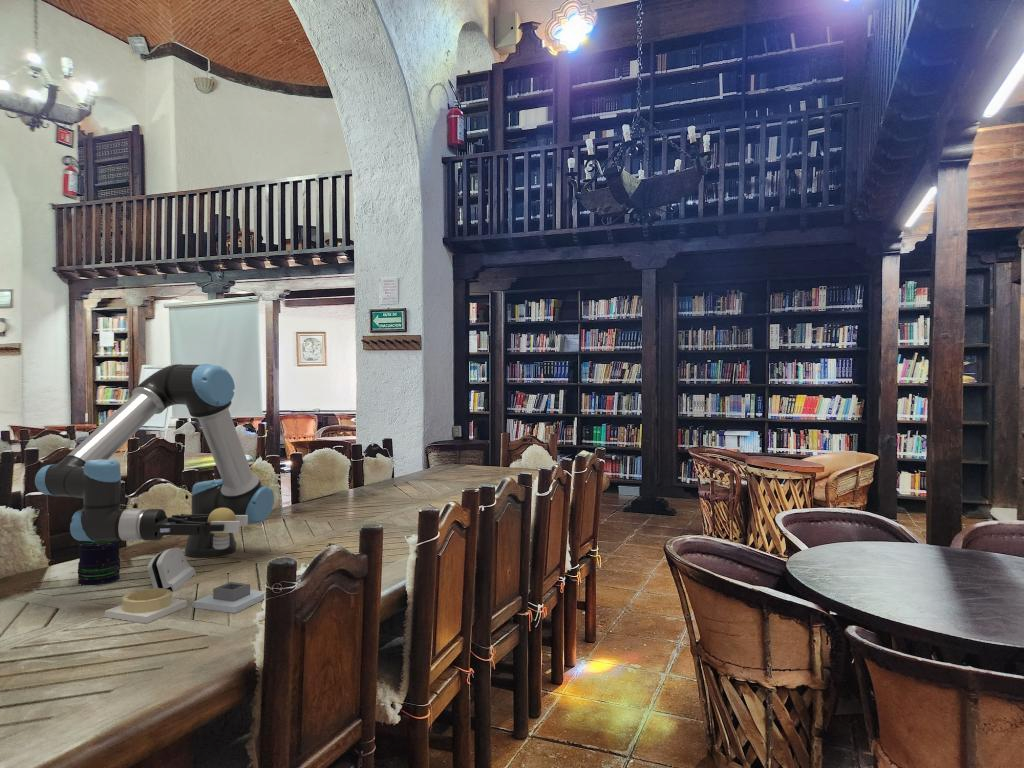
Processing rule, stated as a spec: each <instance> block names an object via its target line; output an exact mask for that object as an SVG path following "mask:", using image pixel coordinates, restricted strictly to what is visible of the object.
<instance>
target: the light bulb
mask: <svg viewBox="0 0 1024 768" xmlns="http://www.w3.org/2000/svg"><path fill="white" fill-rule="evenodd" d="M211 521H236V517H235V514H234V512H233V511H232V510H230V509H228V508H218V509H215V510H213V511H212V512H211V513H210V515H209V517H208V522H209V523H210V524H211ZM229 538H230V535H229V533H214V536H213V539H214V540H213V543H214V544H213V547H214V548H215V549H225V548H227V547H229V541H230V539H229Z"/></svg>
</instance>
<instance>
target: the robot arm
mask: <svg viewBox="0 0 1024 768" xmlns="http://www.w3.org/2000/svg"><path fill="white" fill-rule="evenodd" d="M234 381H235V380H234V378H233V377H232V375H231V373H230V372H229V371H228V370H227V369H226V368H225V367H223V366H220V365H215V364H209V363H204V364H182V363H178V364H177V363H176V364H172V365H167V366H165V367H163V368H161V369H159V370H157V371H155V372H153V373H152V374H151V375H149V376H148V377H147V378H146V379H144V380H143V381H142V382H141V383H139V384H138V385H137V386H136V387H134V389H133V390H132V391H131V392H132V393H131V397H130V398H129V399H128V400H126V401H125V402H124V403H123V404H122V405H121V406H120V407H119V408H118V409H116V411H114V412H113V413H112V414H111V415H110V416H109V417H108V418H107V419H106V420H104V421H103V422H102V423H101V424H100V425H99V426H98V427H97V428H96V429H95V430H94V431H93V432H91V433H90V434H89V435H88V436H87V437H86V438H85V439H84V440H83V441H81V442H80V443H79V444H78V445H77V446H76V447H75V448H74V449H73V450H72V451H70V453H68V454H67V455H66V456H65V457H64V458H63V459H61V461H60V462H59V463H57V464H56V463H52V464H47V465H45V466H42V467H41V468H40V469H39V470H38V471H37V473H36V474H35V478H34V485H35V487H36V489H37V491H39V492H40V493H41V494H44V495H48V496H52V497H69V498H77V499H83V500H82V501H83V502H82V503H83V505H82V506H83V507H82V509H79V510H77V511H75V512H74V513H73V515H72V517H71V522H70V524H69V532H70V535H71V537H72V538H73V539H75V540H76V541H78V542H79V541H93V542H96V541H121V542H123V541H124V542H125V541H126V542H127V541H128V543H129V544H132V543H134V541H142V540H143V541H146V542H147V541H160V540H162V538H163V537H164V536H188V537H187V540H186V544H185V545H184V556H187V557H192V558H212V557H214V558H215V557H221V556H222V557H223V556H226V555H230V554H232V553H234V552H236V551H237V541H236V540H235V535H234V534H236V533H237V534H238V533H240V530H241V529H240V527H248V525H249V524H260V523H262V522H264V521H265V520H267V518H269V516H270V514H271V512H272V510H273V507H274V503H275V495H274V491H273V490H272V488H271V487H268V486H267V485H262V483H261V479H260V477H259V476H258V475H257V474H256V473H254V472H253V473H252V470H251V467H250V465H249V461H248V459H247V457H246V456H247V455H246V454H245V451H244V448H243V446H242V443H241V440H240V437H239V434H238V431H237V428H236V426H235V424H234V420H233V418H232V415H231V412H230V411H229V408H230V407H231V405H232V400H233V397H234V395H235V391H234V390H235V388H236V387H235V386H236V385H235V382H234ZM176 405H184V406H186V407H187V410H188V414H189V415H190V417H191V418H194V419H197V420H198V422H199V425H200V428H201V431H202V432H203V436H204V437H205V440H206V443H207V446H208V448H209V451H210V453H211V455H212V458H213V460H214V461H213V462H214V463H215V466H216V468H217V470H218V473H219V476H220V478H218V479H213V480H212V479H211V480H204V481H198V482H196V483H194V484H193V486H192V488H191V489H192V490H191V496H190V497H191V514H189V513H188V514H187V513H186V514H185V513H181V514H172V515H171V516H169V517H168V516H167V513H166V511H165V510H164V509H162V508H148V509H144V508H126V509H125V508H124V509H122V508H121V486H122V485H121V484H122V483H121V481H122V475H121V463H120V461H118V460H117V459H112V458H111V457H112V456H113V455H114V454H115V453H116V452H117V451H119V449H120V448H122V446H124V445H125V444H126V443H127V442H128V441H129V440H130V439H131V438H132V437H133V436H134V435H135V434H136V433H137V432H138V431H139V430H140V429H141V428H142V427H143V426H144V425H146V423H147V422H148V421H150V420H151V418H152V417H154V416H155V415H158V414H159V415H160V414H162V413H163V412H164V411H165V410H166V409H167V408H169V407H172V406H176ZM110 458H111V459H110ZM218 508H228V509H230V510H232V511H233V512H234V514H235V517H236V521H211V524H210V523H209V522H208V517H209V515H210V513H211V512H212V511H213V510H215V509H218ZM214 533H229V535H230V538H229V539H230V541H229V547H227V548H225V549H215V548H214V547H213V544H214V543H213V540H214V539H213V536H214Z"/></svg>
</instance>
